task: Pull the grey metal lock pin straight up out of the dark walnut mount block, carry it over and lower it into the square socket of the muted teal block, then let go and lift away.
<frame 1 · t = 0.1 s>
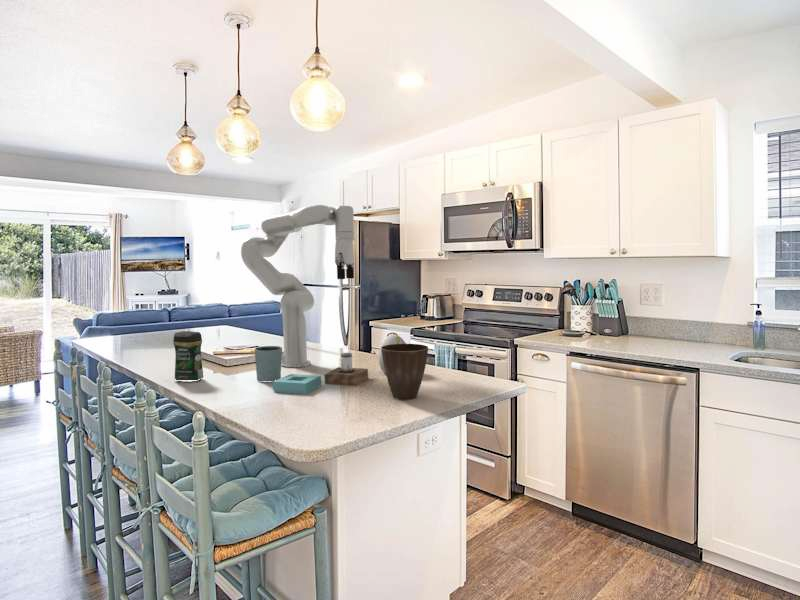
hand: (345, 278, 206), 37 cm above the countertop, tool pointing down, fingers open, 9 cm apart
lock pin: (346, 367, 184), in the mount block
grey-blue cup: (269, 380, 188), on the countertop
mount block: (346, 380, 184), on the countertop
coffee jar: (189, 381, 188), on the countertop
socket block: (297, 388, 173), on the countertop
plant pot: (405, 397, 160), on the countertop
decorative egg: (394, 373, 197), on the countertop
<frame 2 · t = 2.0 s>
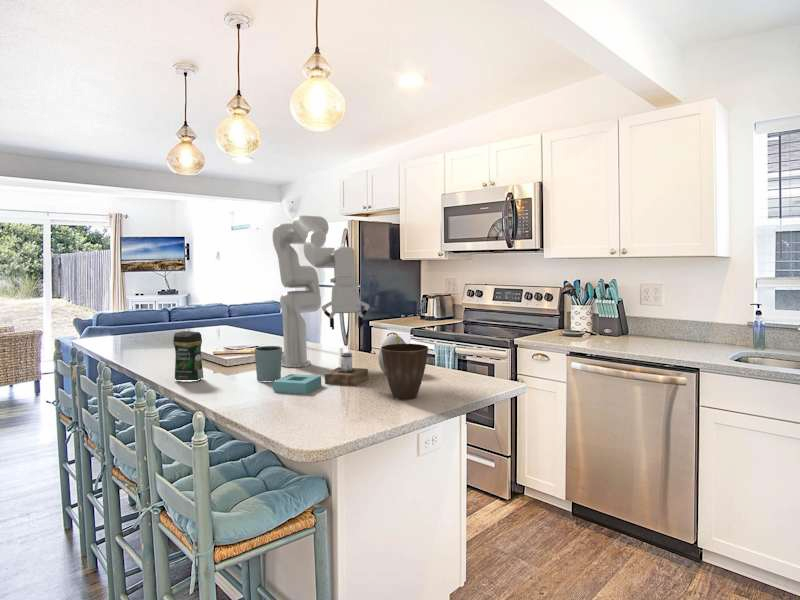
hand: (346, 328, 183), 19 cm above the countertop, tool pointing down, fingers open, 9 cm apart
nothing on the countertop moved.
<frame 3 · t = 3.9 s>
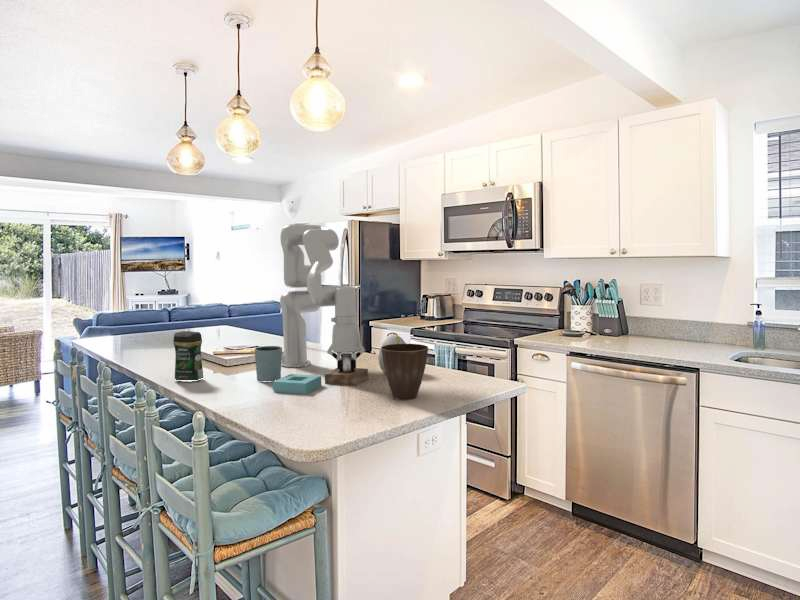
hand: (346, 370, 184), 4 cm above the countertop, tool pointing down, fingers closed on lock pin, 4 cm apart
lock pin: (346, 367, 184), in the mount block, touching gripper
everything else where it was.
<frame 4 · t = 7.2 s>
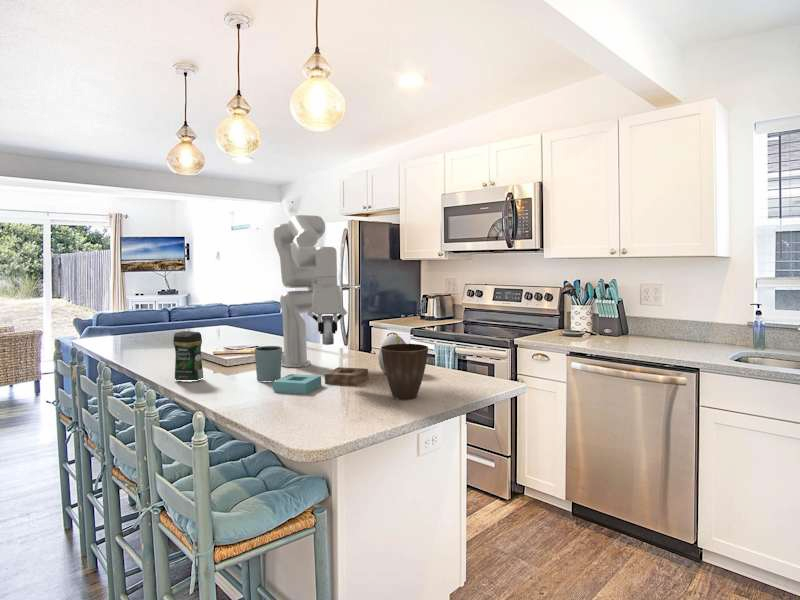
hand: (327, 332, 179), 18 cm above the countertop, tool pointing down, fingers closed on lock pin, 4 cm apart
lock pin: (327, 329, 179), point 19 cm above the countertop, touching gripper
everything else where it was.
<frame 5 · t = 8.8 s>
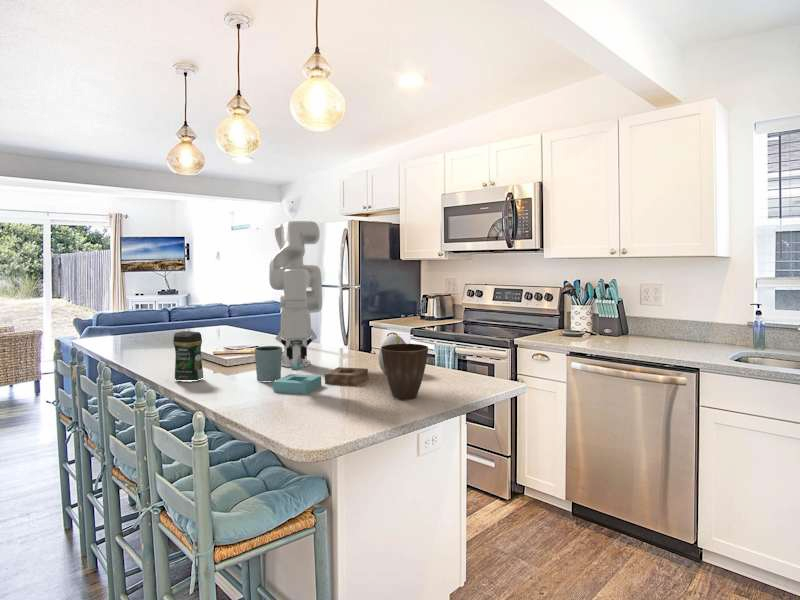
hand: (297, 358, 172), 11 cm above the countertop, tool pointing down, fingers closed on lock pin, 4 cm apart
lock pin: (296, 354, 172), point 12 cm above the countertop, touching gripper
everything else where it was.
when the fingers open (5 cm above the countertop, at t = 10.3 s): lock pin stays where it is, resting in socket block.
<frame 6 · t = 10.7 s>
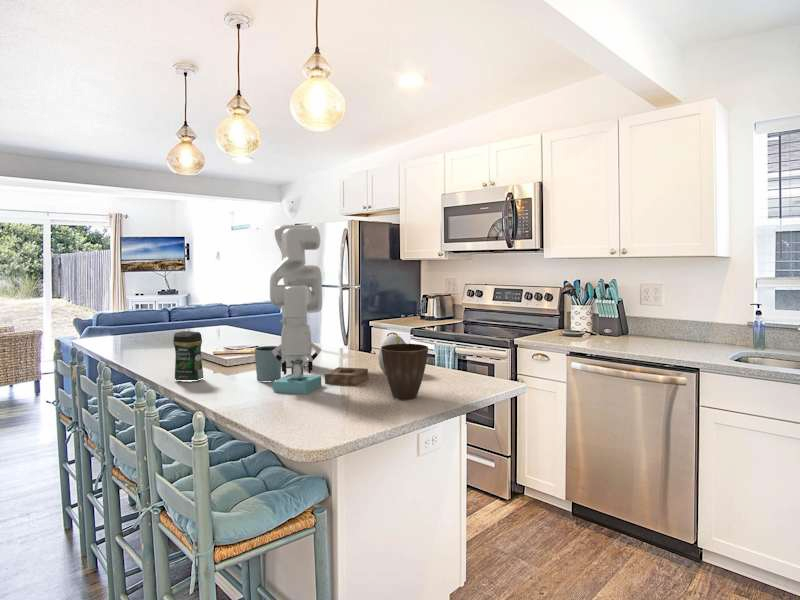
hand: (297, 372, 173), 6 cm above the countertop, tool pointing down, fingers open, 7 cm apart
lock pin: (297, 374, 173), in the socket block
everything else where it was.
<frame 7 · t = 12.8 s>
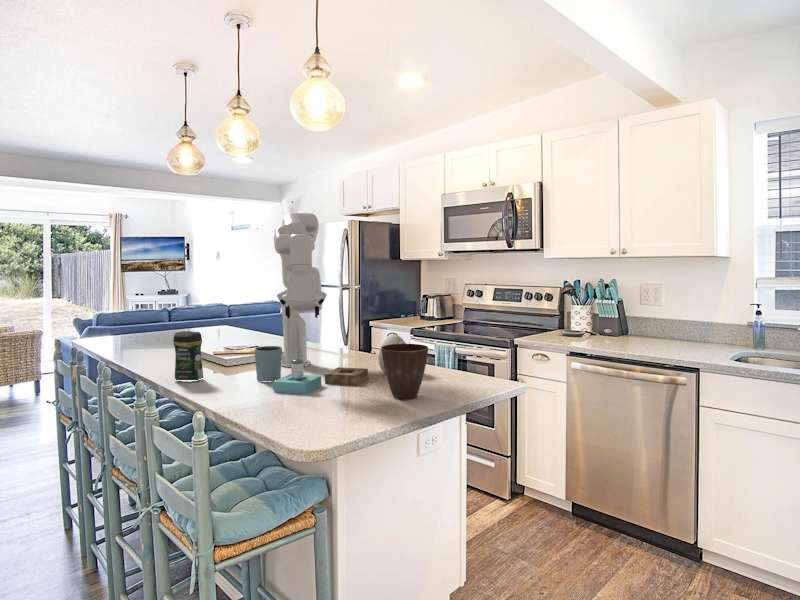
hand: (302, 317, 179), 24 cm above the countertop, tool pointing down, fingers open, 9 cm apart
nothing on the countertop moved.
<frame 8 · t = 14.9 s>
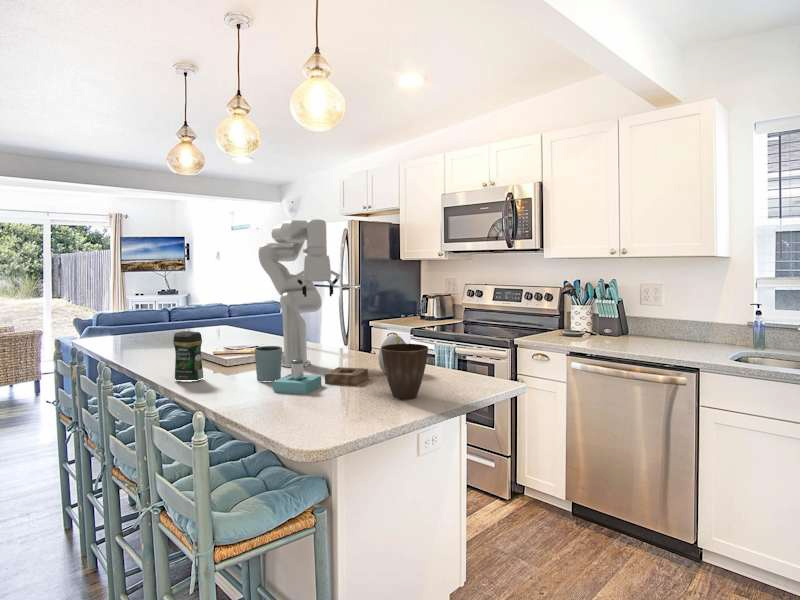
hand: (318, 296, 195), 30 cm above the countertop, tool pointing down, fingers open, 9 cm apart
nothing on the countertop moved.
at the end: lock pin 0.0 cm off-centre on the socket block, point 5.0 cm above the socket block's base; lock pin tilted 0°; the gripper is holding nothing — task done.
